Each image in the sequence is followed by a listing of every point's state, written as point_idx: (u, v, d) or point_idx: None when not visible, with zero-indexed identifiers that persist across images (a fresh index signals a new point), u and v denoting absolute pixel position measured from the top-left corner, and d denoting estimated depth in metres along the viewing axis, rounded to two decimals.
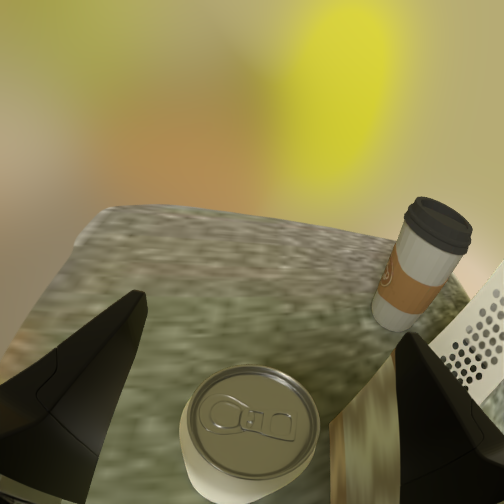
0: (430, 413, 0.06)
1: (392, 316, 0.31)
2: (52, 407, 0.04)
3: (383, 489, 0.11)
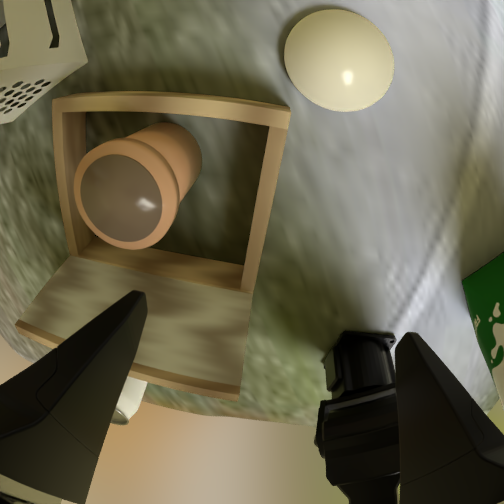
0: (430, 413, 0.06)
1: None
2: (52, 407, 0.04)
3: None
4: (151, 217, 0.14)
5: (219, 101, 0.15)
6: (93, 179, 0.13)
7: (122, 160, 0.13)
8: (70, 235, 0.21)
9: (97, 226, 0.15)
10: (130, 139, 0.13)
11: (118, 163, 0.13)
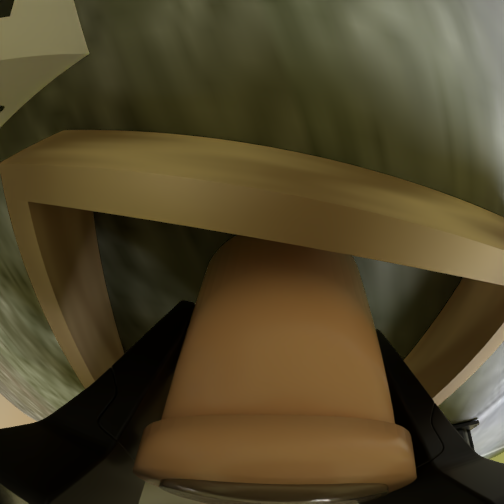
0: None
1: None
2: (119, 434, 0.04)
3: None
4: None
5: (486, 243, 0.05)
6: (206, 493, 0.04)
7: (324, 491, 0.03)
8: None
9: (201, 500, 0.06)
10: (342, 427, 0.04)
11: (309, 495, 0.03)
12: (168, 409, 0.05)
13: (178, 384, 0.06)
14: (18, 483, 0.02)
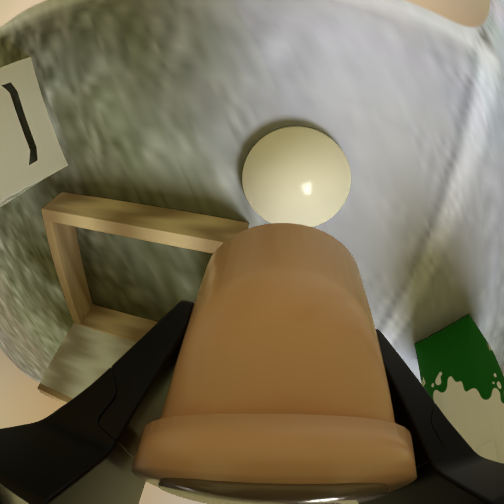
0: None
1: None
2: (119, 434, 0.04)
3: None
4: None
5: (183, 234, 0.19)
6: (205, 493, 0.04)
7: (324, 491, 0.03)
8: (73, 310, 0.24)
9: (201, 500, 0.06)
10: (342, 426, 0.04)
11: (309, 495, 0.03)
12: (167, 408, 0.05)
13: (177, 383, 0.06)
14: (18, 483, 0.02)
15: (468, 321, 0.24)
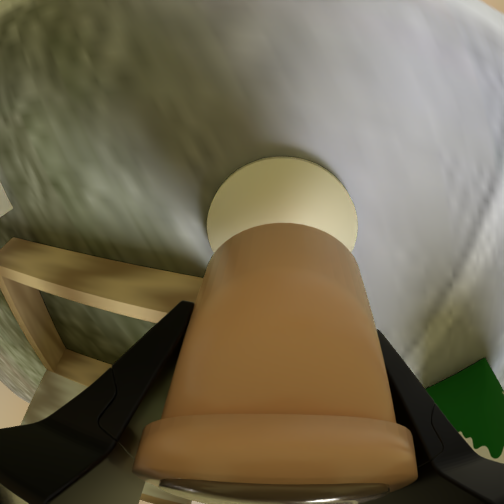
0: None
1: None
2: (119, 434, 0.04)
3: None
4: None
5: (136, 304, 0.14)
6: (206, 493, 0.04)
7: (325, 491, 0.03)
8: (43, 359, 0.20)
9: (201, 500, 0.06)
10: (343, 427, 0.04)
11: (310, 495, 0.03)
12: (168, 409, 0.05)
13: (178, 383, 0.06)
14: (18, 483, 0.02)
15: (483, 366, 0.19)
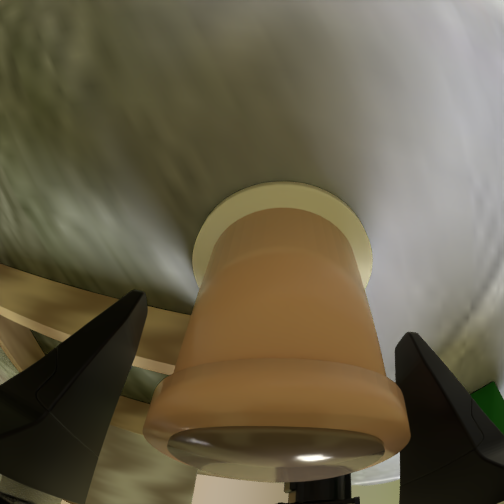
0: (430, 413, 0.06)
1: None
2: (52, 407, 0.04)
3: None
4: (341, 471, 0.06)
5: None
6: (213, 447, 0.05)
7: (323, 437, 0.04)
8: None
9: None
10: (337, 371, 0.04)
11: (309, 442, 0.04)
12: (178, 368, 0.06)
13: (188, 345, 0.06)
14: None
15: (492, 390, 0.17)
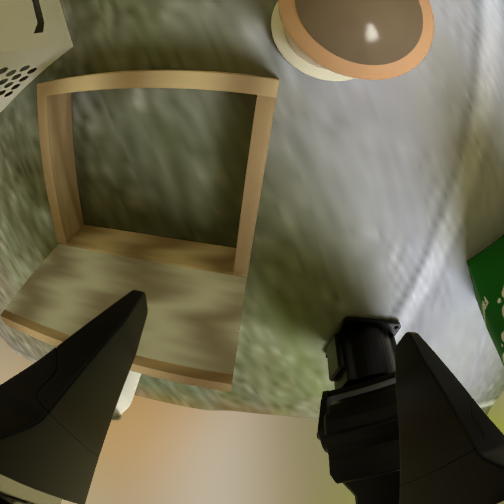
0: (430, 413, 0.06)
1: None
2: (52, 407, 0.04)
3: None
4: (408, 36, 0.07)
5: (204, 72, 0.13)
6: None
7: None
8: (58, 222, 0.19)
9: (313, 36, 0.08)
10: None
11: None
12: None
13: None
14: None
15: None
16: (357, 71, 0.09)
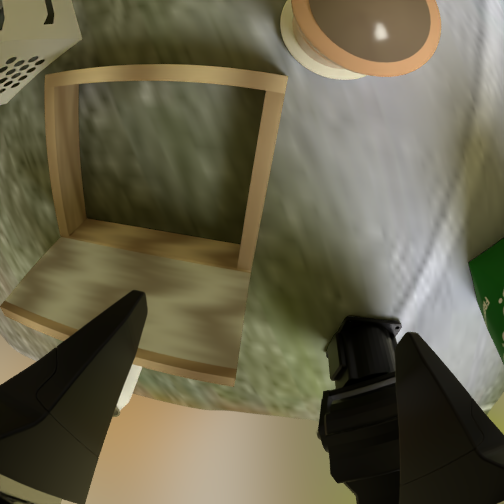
0: (430, 413, 0.06)
1: None
2: (52, 407, 0.04)
3: None
4: (416, 36, 0.08)
5: (213, 67, 0.13)
6: None
7: None
8: (61, 215, 0.19)
9: (326, 32, 0.08)
10: None
11: None
12: None
13: None
14: None
15: None
16: (367, 68, 0.09)
